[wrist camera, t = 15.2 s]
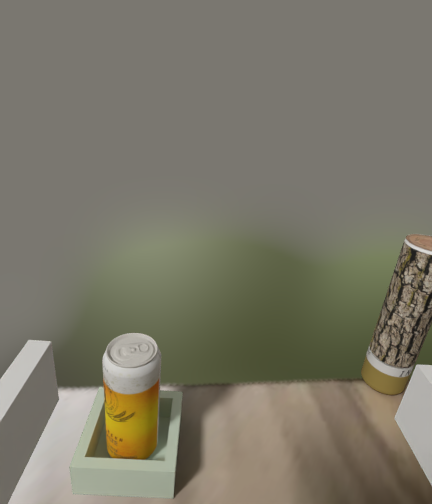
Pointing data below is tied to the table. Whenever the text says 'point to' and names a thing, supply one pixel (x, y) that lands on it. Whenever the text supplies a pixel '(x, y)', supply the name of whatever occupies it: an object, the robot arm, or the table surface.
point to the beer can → (132, 396)
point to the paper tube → (402, 319)
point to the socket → (127, 470)
